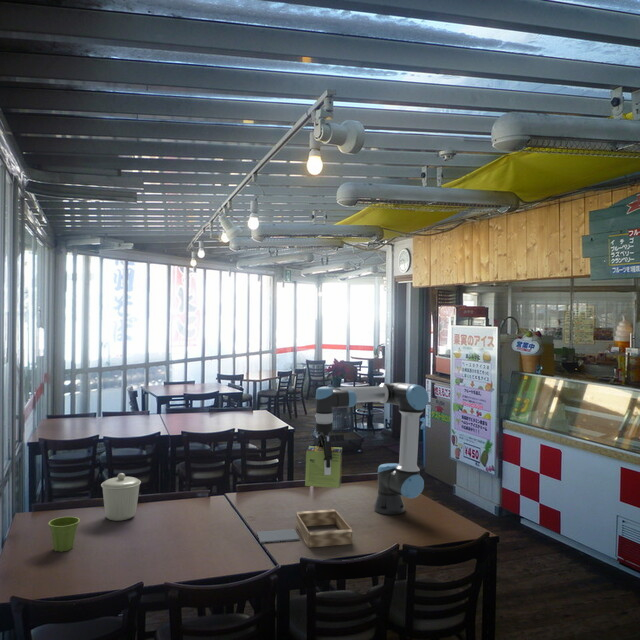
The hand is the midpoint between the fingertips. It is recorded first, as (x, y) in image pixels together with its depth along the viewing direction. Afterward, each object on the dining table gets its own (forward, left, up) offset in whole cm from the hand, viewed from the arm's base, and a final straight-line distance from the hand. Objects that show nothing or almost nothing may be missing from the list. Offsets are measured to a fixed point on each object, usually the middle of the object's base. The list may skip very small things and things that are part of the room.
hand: (323, 471), depth 255 cm
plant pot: (+108, -8, -28) cm, 112 cm away
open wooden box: (0, 0, -28) cm, 28 cm away
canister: (+89, -43, -28) cm, 103 cm away
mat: (+20, -2, -28) cm, 35 cm away
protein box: (0, 0, -6) cm, 6 cm away
